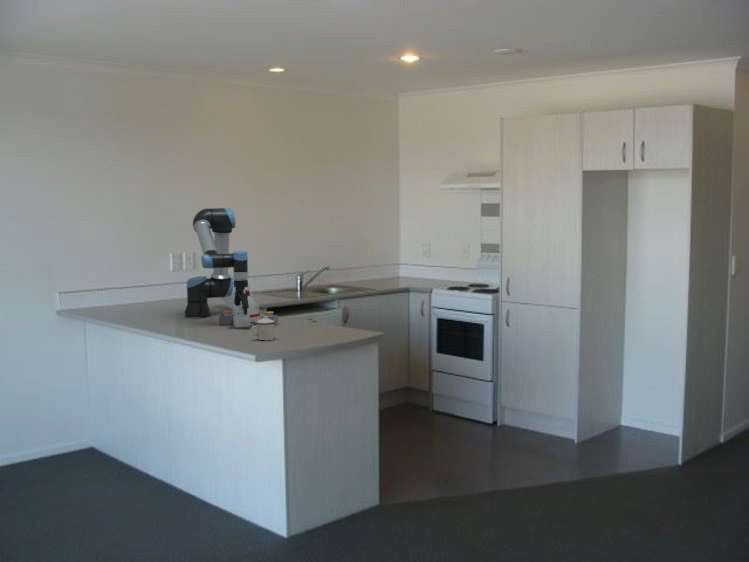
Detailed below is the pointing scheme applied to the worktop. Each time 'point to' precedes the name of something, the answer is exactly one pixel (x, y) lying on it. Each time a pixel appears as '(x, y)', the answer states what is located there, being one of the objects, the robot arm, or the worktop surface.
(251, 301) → the white red kettle
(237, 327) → the mat
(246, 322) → the small box
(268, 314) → the plunger
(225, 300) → the heart
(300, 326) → the worktop surface
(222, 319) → the housing
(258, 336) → the teacup with lid
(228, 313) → the plunger
